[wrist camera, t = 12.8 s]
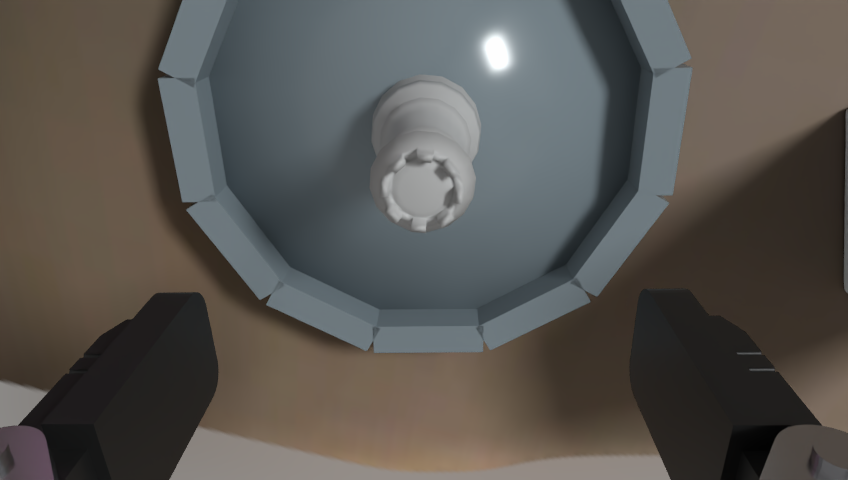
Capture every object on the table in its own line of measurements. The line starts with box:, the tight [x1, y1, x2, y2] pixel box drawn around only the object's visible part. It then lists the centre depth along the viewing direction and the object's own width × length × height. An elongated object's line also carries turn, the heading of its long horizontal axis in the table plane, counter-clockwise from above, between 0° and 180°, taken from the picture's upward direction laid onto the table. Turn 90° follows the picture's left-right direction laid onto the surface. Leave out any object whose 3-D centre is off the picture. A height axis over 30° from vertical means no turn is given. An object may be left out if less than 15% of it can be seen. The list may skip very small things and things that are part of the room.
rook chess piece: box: [370, 74, 481, 233], centre depth 21 cm, size 4×4×8 cm
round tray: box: [158, 0, 692, 353], centre depth 25 cm, size 20×20×2 cm
